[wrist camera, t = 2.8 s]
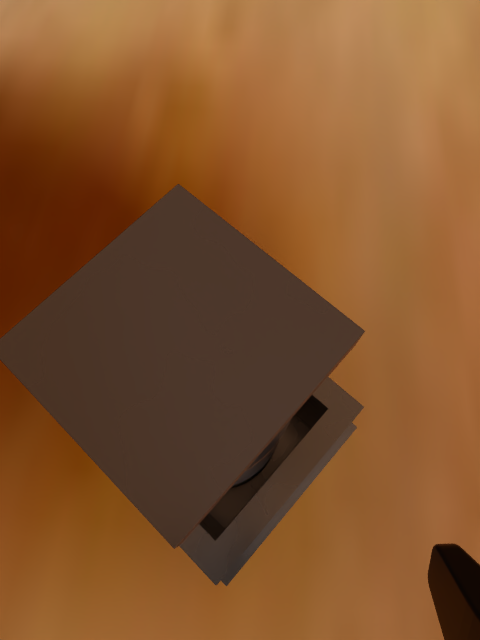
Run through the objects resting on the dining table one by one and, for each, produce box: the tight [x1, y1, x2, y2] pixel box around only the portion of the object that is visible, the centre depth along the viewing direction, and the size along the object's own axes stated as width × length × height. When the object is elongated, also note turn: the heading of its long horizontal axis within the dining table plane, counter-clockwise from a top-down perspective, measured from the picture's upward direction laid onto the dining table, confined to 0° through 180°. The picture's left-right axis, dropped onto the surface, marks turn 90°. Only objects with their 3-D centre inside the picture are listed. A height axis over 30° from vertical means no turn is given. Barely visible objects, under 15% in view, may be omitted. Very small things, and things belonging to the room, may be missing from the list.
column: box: [0, 184, 365, 549], centre depth 13 cm, size 4×4×12 cm
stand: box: [179, 377, 364, 586], centre depth 17 cm, size 8×8×6 cm
